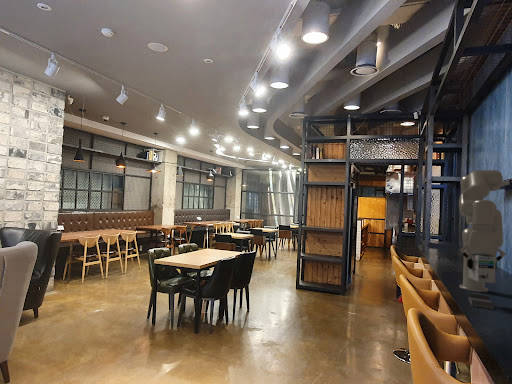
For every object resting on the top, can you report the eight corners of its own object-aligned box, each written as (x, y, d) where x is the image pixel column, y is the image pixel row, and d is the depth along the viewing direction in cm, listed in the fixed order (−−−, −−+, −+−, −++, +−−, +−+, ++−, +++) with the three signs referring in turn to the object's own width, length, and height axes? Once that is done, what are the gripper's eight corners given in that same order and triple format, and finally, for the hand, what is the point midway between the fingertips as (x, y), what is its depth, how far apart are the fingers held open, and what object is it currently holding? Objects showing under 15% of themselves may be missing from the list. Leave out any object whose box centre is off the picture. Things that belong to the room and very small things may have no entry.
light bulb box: (495, 283, 144) (496, 257, 145) (477, 282, 146) (478, 255, 146) (484, 279, 155) (485, 254, 155) (467, 277, 156) (468, 253, 157)
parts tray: (468, 298, 158) (468, 293, 158) (488, 301, 155) (488, 295, 155) (471, 306, 145) (471, 299, 145) (493, 309, 142) (494, 302, 142)
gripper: (505, 230, 151) (504, 271, 150) (458, 227, 159) (457, 266, 158) (508, 230, 144) (507, 274, 143) (459, 227, 152) (458, 268, 151)
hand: (481, 269), depth 151 cm, fingers closed on light bulb box, 7 cm apart
